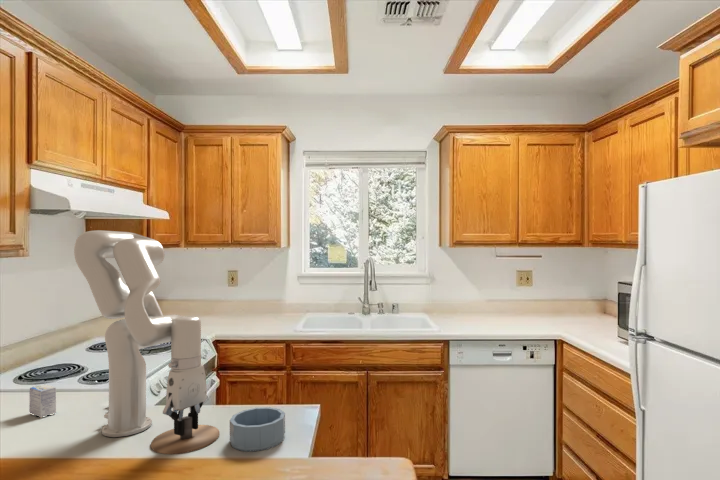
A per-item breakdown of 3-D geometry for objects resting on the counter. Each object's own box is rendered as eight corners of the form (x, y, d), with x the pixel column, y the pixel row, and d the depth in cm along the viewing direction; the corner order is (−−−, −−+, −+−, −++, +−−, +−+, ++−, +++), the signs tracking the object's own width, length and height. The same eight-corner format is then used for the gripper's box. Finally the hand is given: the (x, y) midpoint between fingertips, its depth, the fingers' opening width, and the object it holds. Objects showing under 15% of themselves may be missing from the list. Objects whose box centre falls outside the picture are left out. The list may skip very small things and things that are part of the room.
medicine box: (56, 414, 133) (56, 386, 134) (40, 419, 129) (40, 390, 130) (44, 410, 137) (45, 383, 138) (28, 414, 133) (29, 387, 134)
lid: (136, 448, 108) (136, 424, 108) (189, 424, 123) (189, 404, 124) (181, 461, 100) (181, 435, 101) (232, 434, 116) (232, 412, 116)
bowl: (219, 445, 108) (218, 421, 108) (255, 425, 120) (255, 404, 121) (261, 455, 101) (260, 430, 102) (295, 433, 114) (294, 411, 114)
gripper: (169, 371, 104) (169, 446, 103) (219, 357, 119) (219, 422, 118) (149, 368, 107) (149, 441, 106) (200, 355, 122) (200, 418, 121)
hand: (186, 430), depth 112 cm, fingers open, 3 cm apart
